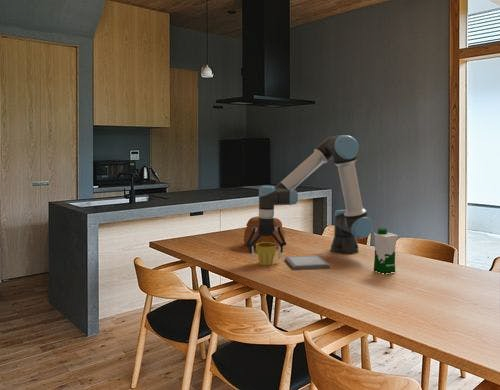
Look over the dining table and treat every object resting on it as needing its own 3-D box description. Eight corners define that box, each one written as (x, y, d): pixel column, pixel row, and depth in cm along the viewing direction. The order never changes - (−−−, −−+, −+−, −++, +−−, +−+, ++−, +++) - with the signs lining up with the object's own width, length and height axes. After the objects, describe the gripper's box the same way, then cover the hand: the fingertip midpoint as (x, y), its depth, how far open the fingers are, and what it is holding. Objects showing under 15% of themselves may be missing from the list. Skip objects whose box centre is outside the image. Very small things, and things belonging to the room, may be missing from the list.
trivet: (318, 258, 233) (318, 255, 233) (329, 267, 216) (329, 264, 215) (285, 259, 231) (285, 256, 230) (293, 269, 213) (293, 266, 213)
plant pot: (274, 267, 217) (275, 247, 216) (253, 265, 219) (254, 246, 218) (277, 261, 227) (278, 242, 226) (257, 260, 229) (257, 241, 228)
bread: (273, 251, 249) (273, 221, 247) (241, 246, 260) (240, 217, 259) (287, 244, 264) (287, 216, 262) (256, 240, 275) (256, 213, 273)
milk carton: (384, 268, 215) (385, 227, 212) (398, 273, 207) (400, 230, 204) (370, 270, 211) (371, 229, 208) (384, 275, 203) (386, 232, 200)
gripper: (289, 215, 226) (288, 256, 228) (240, 216, 222) (240, 258, 225) (292, 218, 219) (291, 260, 221) (242, 219, 215) (241, 262, 217)
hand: (265, 259), depth 223 cm, fingers open, 13 cm apart
